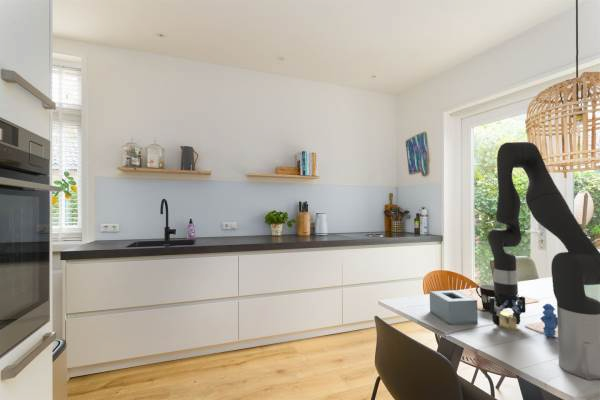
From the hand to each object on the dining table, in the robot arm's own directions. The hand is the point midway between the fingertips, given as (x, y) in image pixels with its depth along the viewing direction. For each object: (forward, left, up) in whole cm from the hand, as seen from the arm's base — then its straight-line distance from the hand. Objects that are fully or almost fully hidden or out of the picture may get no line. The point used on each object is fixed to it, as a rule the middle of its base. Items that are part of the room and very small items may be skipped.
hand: (506, 324), depth 112 cm
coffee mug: (+19, -8, -1) cm, 21 cm away
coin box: (+12, +14, -1) cm, 18 cm away
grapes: (-10, -9, -1) cm, 14 cm away
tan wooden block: (0, 0, -1) cm, 1 cm away
